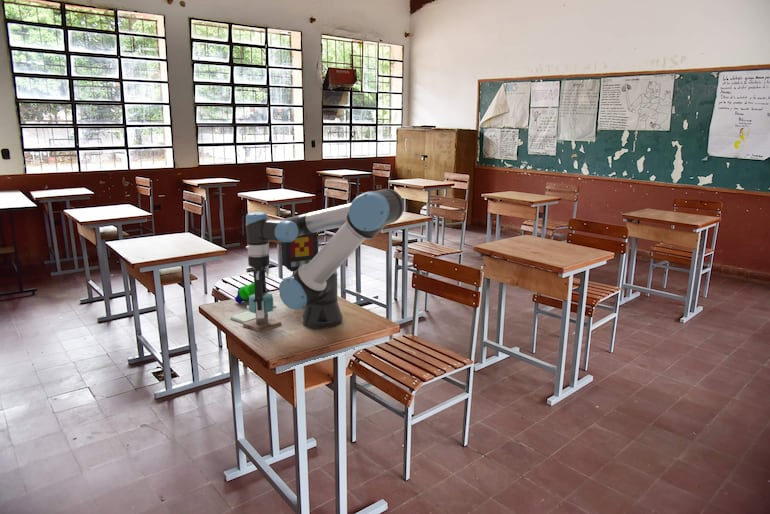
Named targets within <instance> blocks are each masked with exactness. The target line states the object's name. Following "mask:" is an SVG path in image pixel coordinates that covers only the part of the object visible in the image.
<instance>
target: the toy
mask: <svg viewBox="0 0 770 514" xmlns="http://www.w3.org/2000/svg"><path fill="white" fill-rule="evenodd" d="M253 294H255V288H254V281H253V282H251V283H250V284H248V285H243V286H241V287H239V288H238V289H237V295H236V296H235V298H234V300H235V302H236V303H237V304H241V302H242V303H243V302H245V303H247V302H248V303H249V297H250V296H251V295H253Z"/></svg>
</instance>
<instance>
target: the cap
mask: <svg viewBox="0 0 770 514" xmlns="http://www.w3.org/2000/svg"><path fill="white" fill-rule="evenodd" d="M253 300H255V294H253V295H251V296H250V297H249V302H248V305H247V306H246V310H249V311H250V312H253V313H256V302H254V301H253ZM263 301H264V313H267V312H268V313H269V312H272V311H273V310H274V309H276V308H277V304H274V298H273V293H269V292H268V293H263Z"/></svg>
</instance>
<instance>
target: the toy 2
mask: <svg viewBox="0 0 770 514" xmlns="http://www.w3.org/2000/svg"><path fill="white" fill-rule="evenodd" d="M280 246H281V247H280V251H281V265H282V266H283V267H285V268H286V269H287V270H289V271H290V272H295V271H296V270H297V269H298V268H299V267H300V266H301V265H303V264H307V263H309V262H310V261H311V260H312V259H313V258H314V257H315V256H316V254H317V253H318V252H319V250H318V248H319V247H318V232H314V233H310V234H305V235H301V236H297V238H296V239H295V240H294V241H293V242H280Z"/></svg>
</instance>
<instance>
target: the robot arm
mask: <svg viewBox="0 0 770 514" xmlns="http://www.w3.org/2000/svg"><path fill="white" fill-rule="evenodd" d="M404 210H405V203H404V199H403V198H402V195H400V194H399V193H398V192H397V191H396V190H394V189H391V188H383V189H378V190H375V191H374V190H373V191H366V192H363V193H361V194H359V195H357V196H356V197H355V198H354V199H353V200H352V201H351V202H350V203H345V204H339V205H337V206H332V207H328V208H325V209H320V210H315V211H311V212H307V213H303V214H299V215H298V214H297V215H295V216H292V217H291V216H290V217H287V218H281V219H271V218H270V219H269V218H268V214H267V212H262V211H255V212H253V211H252V212H248V213H246V216H245V230H246V243H247V246H245V248H246V249H247V254H248V257H247V263H248V266H249V267H251V268H254V269H253V270H254V271H253V282H254V288H255V300H253V301H254V302H256V316H257V318H264V301H263V293H269V290H268V289H267V282H266V279H267V277H266V272H267V271H266V267H268V266H269V265H270V255H269V254H270V244H269V243H270V242H269V241H272V242H280V243H281V242H293V241H294V240H295V239H296V238H297V236H301V235H305V234H310V233H314V232H317V233H319V232H323V231H328V230H332V229H333V230H334V229H338V228H339V229H338V230H337V231H336V232H335V233H334V235H332V237H330V239H329V240H328V241H327V242H326V243H325V244H324V246H323V247H321V249H320V250H318V253H317V254H316V256H315V257H314V258H313V259H312V260H311V261H310V262H309V263H307V264H303V265H301V266H300V267H299V268H298V269H297V270H296V271H293V273H292V274H291V275H290V276H287V277H284V278H283V279H282V281H280V283H279V285H278V293H279V294H278V295H279V297H280V301H282V303H283V304H284V305H285V306H286V307H287V308H289V309H291V310H296V311H297V310H301V309H303V308H304V313H303V315H302V325H304V326H305V327H307V328H311V329H319V330H321V329H330V328H334V327H338V326H340V325H341V324H343V321H344V320H343V314H342V312H341V309H340V305H339V302H338V299H339V298H338V269H339V268H340V267H341V266H342V265H343V263H345V261H346V260H348V258H349V257H350V256H351V255H352V254H353V253H354V252H355V250H357V249H358V247H360V245H361V244H362V243H363V242H365V240H372V239H373V238H375V237H376V236H377V234H379V232H381V231H382V229H383V228H384V227H386V226H388V225H391V224H393V223H395V222H397V221H398V220H399V219H400V218H401V217H402V216H403V213H404Z"/></svg>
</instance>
